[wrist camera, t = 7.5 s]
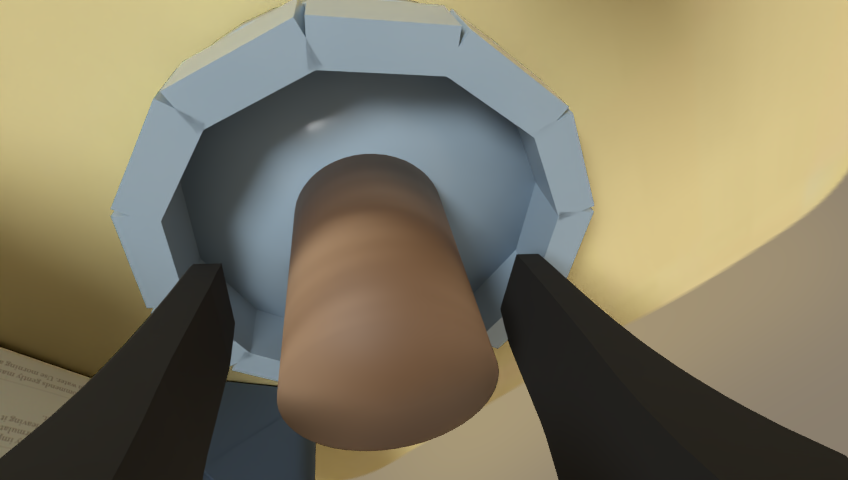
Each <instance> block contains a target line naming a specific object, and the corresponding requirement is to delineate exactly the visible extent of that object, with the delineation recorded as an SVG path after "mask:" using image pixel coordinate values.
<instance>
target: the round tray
mask: <svg viewBox="0 0 848 480" xmlns="http://www.w3.org/2000/svg"><path fill="white" fill-rule="evenodd" d="M568 107H569V106H568V105H567V104H565V103H564V102H563V101H562V100H561V99H560V98H559V97H558V96H557V95H556V94H555V93H554V92H553V91H552V90H551V89H550V88H549V87H548V86H547V85H546V84H545V83H544V82H543V81H542V80H541V79H540V78H538V77H537V76H536V75H535V74H533V73H532V72H531V71H530V70H528V69H527V68H526V67H525V66H523V65H522V64H521V63H520V62H518V61H517V60H516V59H515V58H513V57H512V56H511V55H510V54H508V53H507V52H506V51H505V50H503V49H502V48H501V47H500V46H499V45H498V44H497V43H496V42H495V41H494V40H493V39H491V38H490V37H488V36H487V35H485V34H484V33H482V32H481V31H479V30H478V29H477V28H476V27H474V26H473V25H472V24H471V23H469V22H468V21H467V20H466V19H464V18H463V17H462V16H461V15H459V14H458V13H457V12H456V11H454V10H453V9H451V11H450V12H449V11H448V10H447V8H446V7H445V6H444V5H434V4H422V3H418V2H415V1H412V0H291V1H289V2H287V3H286V4H284V5H282V6H280V7H277V8H273V9H271V10H269V11H267V12H265V13H263V14H261V15H258V16H256V17H254V18H252V19H250V20H248V21H246V22H243V23H242V24H240V25H239V26H237V27H236V28H234V29H233V30H231V31H230V32H228V33H227V34H226V35H224V36H223V37H221V38H220V39H218V40H217V41H215V42H214V43H213V44H212V45H211V46H209V47H207V48H206V49H204V50H202V51H200V52H199V53H197V54H195V55H193V56H191V57H190V58H188V59H186V60H184V61H183V62H182V63H181V64H180V66H179V67H178V68H176V70H175V71H174V72H173V74H172V75H171V76H170V78H169V79H168V80H167V82H166V83H165V84H164V85H163V87H162V88H161V89H160V91H159V92H158V93H157V95H156V96H155V97H154V98H153V101H152V104H151V106H150V109H149V111H148V114H147V116H146V119H145V122H144V124H143V127H142V129H141V132H140V134H139V137H138V140H137V142H136V145H135V147H134V150H133V153H132V155H131V158H130V160H129V163H128V165H127V168H126V171H125V173H124V176H123V178H122V181H121V183H120V186H119V189H118V191H117V194H116V196H115V199H114V201H113V204H112V207H111V209H112V210H114V212H113V214H112V215H111V218H112V221H113V224H114V226H115V229H116V231H117V234H118V236H119V239H120V241H121V244H122V246H123V249H124V251H125V254H126V257H127V259H128V262H129V264H130V267H131V269H132V272H133V274H134V277H135V279H136V282H137V285H138V287H139V290H140V292H141V295H142V297H143V300H144V302H145V305H146V307H147V308H153V309H152V312H151V314H152V313H153V311H154V310H155V309H156V308H157V307H158V305H159V304H160V303H161V302H162V301H163V299H164V298H165V297H166V296H167V295H168V293H169V292H170V291H171V290H172V288H173V287H174V286H175V285H176V283H177V282H178V281H179V280H180V278H181V277H182V276H183V275H184V273H185V272H186V271H187V270H188V268H189V267H190V266H192V265H193V264H213V263H222V268H223V272H224V277H225V281H226V285H227V290H228V294H229V299H230V303H231V307H232V312H233V316H234V321H235V329H234V338H233V347H232V354H231V362H230V366H232V365H233V367H232V371H237V372H241V373H245V374H249V375H253V376H258V377H262V378H266V379H270V380H274V381H278V378H279V368H280V358H281V347H282V337H283V327H284V316H285V306H286V295H287V285H288V275H289V264H290V254H291V243H292V233H293V223H294V212H295V206H296V202H297V199H298V196H299V194H300V192H301V190H302V189H303V187H304V186H305V184H306V183H307V182H308V180H309V179H310V178H311V177H312V176H313V175H314V174H315V173H317V172H318V171H319V170H321V169H322V168H323V167H325V166H327V165H329V164H330V163H332V162H334V161H337V160H340V159H342V158H345V157H349V156H353V155H360V154H382V155H389V156H393V157H397V158H399V159H402V160H405V161H407V162H409V163H411V164H413V165H414V166H416V167H417V168H419V169H420V170H421V171H423V172H424V173H425V174H426V175H427V176H428V177H429V179H430V180H431V181H432V182H433V184H434V186H435V187H436V189H437V191H438V194H439V197H440V199H441V202H442V205H443V208H444V211H445V214H446V217H447V219H448V222H449V225H450V228H451V231H452V234H453V237H454V240H455V242H456V245H457V248H458V251H459V254H460V257H461V260H462V262H463V265H464V268H465V271H466V274H467V277H468V280H469V283H470V285H471V288H472V291H473V294H474V297H475V300H476V303H477V305H478V308H479V311H480V314H481V317H482V320H483V323H484V326H485V328H486V331H487V334H488V337H489V340H490V343H491V346H492V347H494V348H497V349H498V348H499V347H500V346H501V345H503V344H504V343H505V342H506V341H507V340H508V338H507V334H506V330H505V327H504V322H503V318H502V314H501V310H500V308H501V304H502V301H503V298H504V294H505V291H506V288H507V284H508V281H509V277H510V274H511V271H512V267H513V264H514V261H515V257H516V254H539V255H541V256H542V257H543V258H544V259H545V260H546V261H548V262H549V263H550V264H551V265H552V266H553V267H554V268H555V269H557V270H558V271H559V272H560V273H561V274H562V275H563V276H564V277H565V278H567V277H568V274H569V272H570V269H571V267H572V264H573V262H574V259H575V257H576V254H577V252H578V249H579V247H580V244H581V242H582V239H583V237H584V234H585V232H586V230H587V227H588V225H589V222H590V220H591V217H592V215H593V212H594V211H593V210H592V209H591V207H592V206H594V202H593V197H592V193H591V189H590V185H589V180H588V176H587V172H586V167H585V163H584V159H583V155H582V150H581V146H580V142H579V137H578V133H577V129H576V124H575V120H574V116H573V113H572V112H571V111H570V110H569V109H568Z"/></svg>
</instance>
